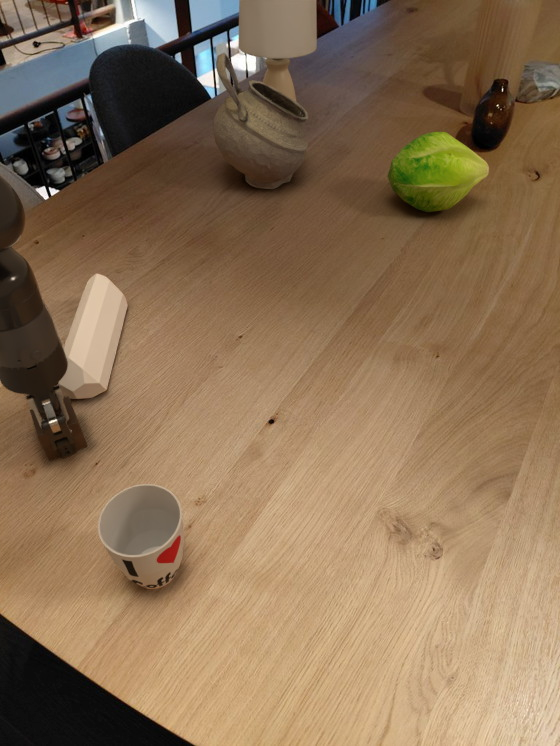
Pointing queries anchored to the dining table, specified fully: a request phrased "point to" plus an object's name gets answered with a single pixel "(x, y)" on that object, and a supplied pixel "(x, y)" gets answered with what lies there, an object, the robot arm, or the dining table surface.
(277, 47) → the lamp
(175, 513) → the cup
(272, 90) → the pot
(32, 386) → the robot arm
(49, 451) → the walnut block
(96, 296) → the crystal
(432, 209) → the lettuce
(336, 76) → the dining table surface
